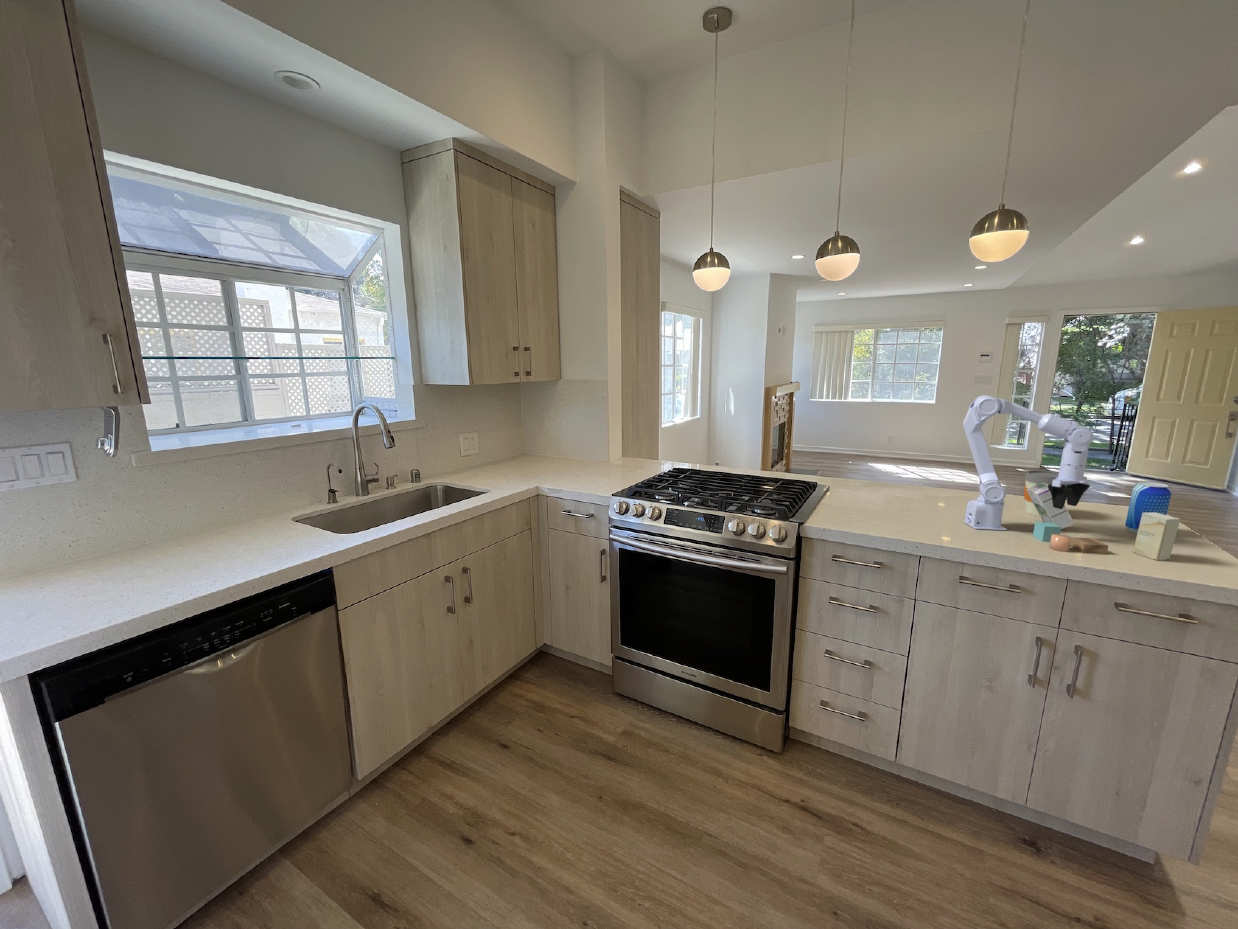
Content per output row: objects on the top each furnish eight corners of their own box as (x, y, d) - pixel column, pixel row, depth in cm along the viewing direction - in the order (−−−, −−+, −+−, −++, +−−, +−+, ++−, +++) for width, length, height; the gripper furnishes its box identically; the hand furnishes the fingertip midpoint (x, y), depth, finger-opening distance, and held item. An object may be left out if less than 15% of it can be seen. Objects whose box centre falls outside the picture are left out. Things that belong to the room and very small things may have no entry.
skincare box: (1131, 552, 141) (1140, 512, 139) (1145, 552, 142) (1154, 511, 139) (1157, 561, 135) (1166, 519, 133) (1171, 560, 136) (1181, 518, 133)
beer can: (1150, 529, 161) (1161, 482, 157) (1169, 537, 153) (1180, 488, 150) (1118, 526, 163) (1127, 480, 160) (1134, 534, 156) (1144, 486, 152)
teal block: (1042, 541, 151) (1044, 526, 150) (1032, 536, 155) (1035, 521, 154) (1058, 542, 150) (1061, 527, 149) (1048, 537, 154) (1051, 522, 153)
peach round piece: (1055, 551, 143) (1058, 538, 142) (1045, 546, 147) (1047, 533, 146) (1072, 552, 142) (1075, 539, 141) (1062, 547, 146) (1064, 534, 145)
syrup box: (1075, 523, 158) (1055, 484, 157) (1056, 531, 159) (1035, 492, 158) (1063, 519, 163) (1043, 481, 163) (1044, 526, 165) (1025, 489, 164)
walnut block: (1082, 554, 141) (1084, 544, 141) (1067, 546, 147) (1069, 537, 147) (1106, 555, 140) (1108, 545, 140) (1090, 547, 146) (1092, 538, 145)
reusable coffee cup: (1065, 521, 169) (1072, 479, 166) (1018, 514, 177) (1025, 474, 174) (1064, 513, 178) (1071, 473, 175) (1020, 507, 186) (1026, 468, 183)
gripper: (1075, 469, 145) (1067, 512, 147) (1102, 465, 150) (1093, 507, 153) (1047, 464, 151) (1039, 506, 154) (1074, 460, 156) (1066, 501, 159)
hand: (1064, 506), depth 154 cm, fingers open, 7 cm apart
